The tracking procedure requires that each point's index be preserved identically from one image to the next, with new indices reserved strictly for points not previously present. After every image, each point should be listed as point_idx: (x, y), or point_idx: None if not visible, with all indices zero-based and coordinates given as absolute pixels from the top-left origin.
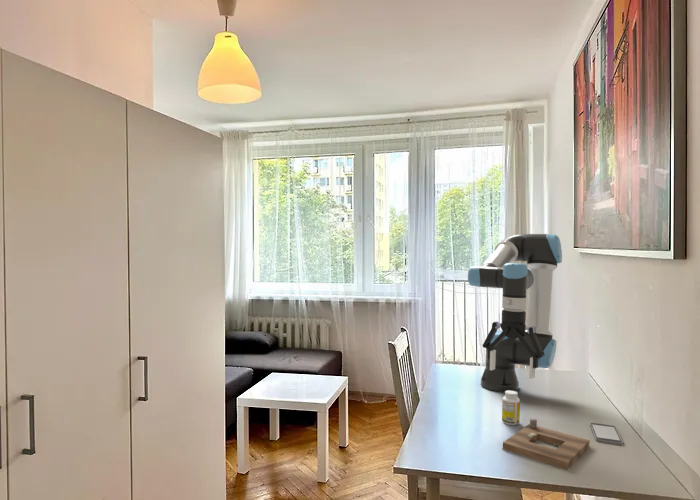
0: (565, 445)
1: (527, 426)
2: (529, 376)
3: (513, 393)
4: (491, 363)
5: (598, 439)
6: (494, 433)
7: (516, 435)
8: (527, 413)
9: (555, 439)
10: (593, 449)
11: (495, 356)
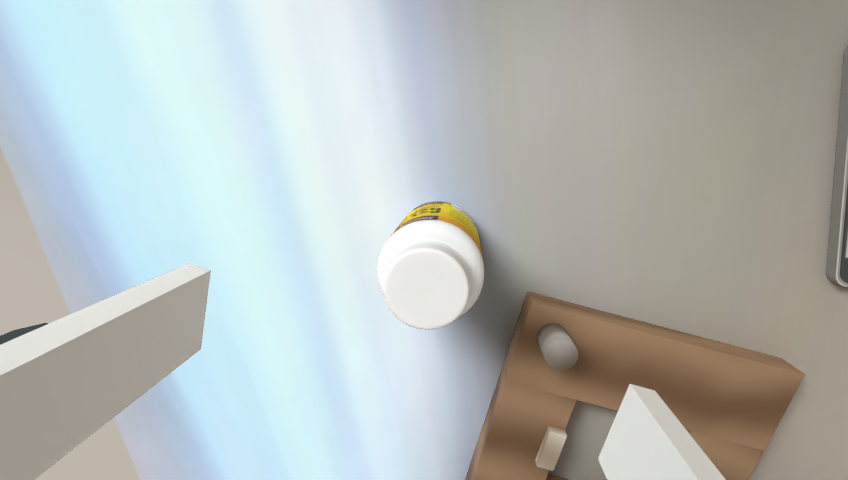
0: None
1: (526, 339)
2: (605, 475)
3: (443, 312)
4: (139, 391)
5: (846, 285)
6: (399, 393)
7: (492, 456)
8: (500, 46)
9: None
10: None
11: (80, 340)
